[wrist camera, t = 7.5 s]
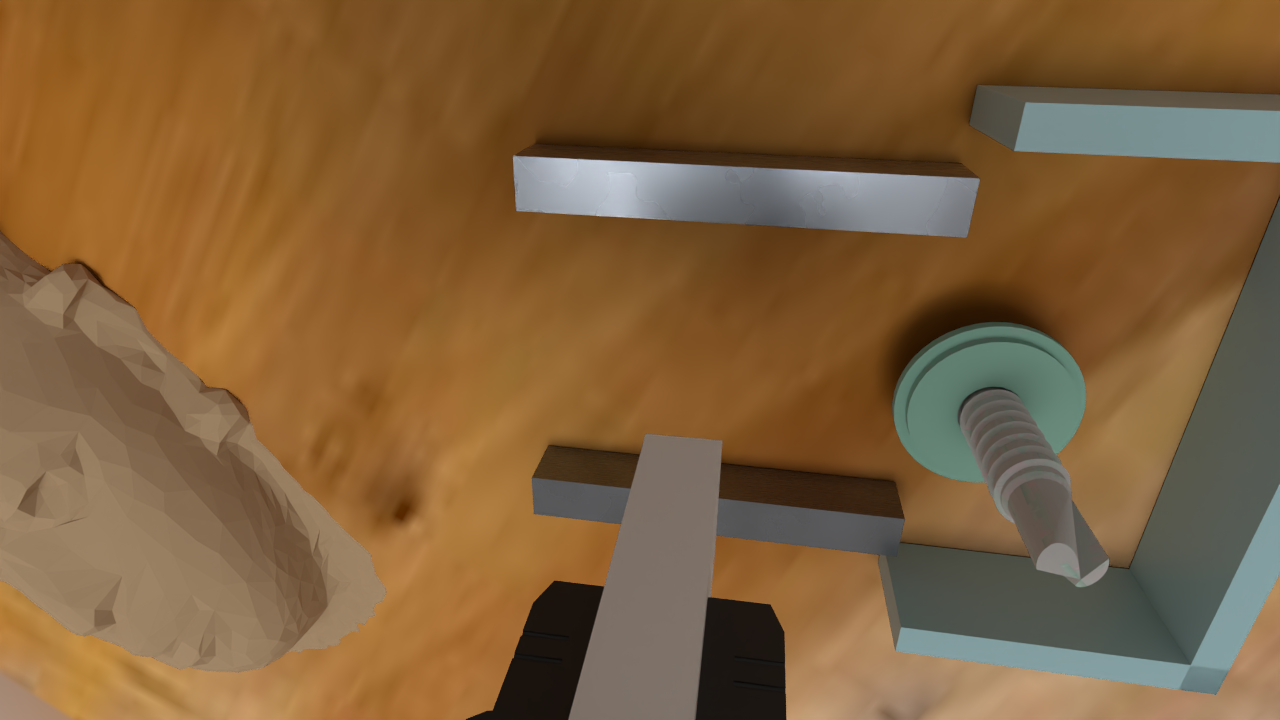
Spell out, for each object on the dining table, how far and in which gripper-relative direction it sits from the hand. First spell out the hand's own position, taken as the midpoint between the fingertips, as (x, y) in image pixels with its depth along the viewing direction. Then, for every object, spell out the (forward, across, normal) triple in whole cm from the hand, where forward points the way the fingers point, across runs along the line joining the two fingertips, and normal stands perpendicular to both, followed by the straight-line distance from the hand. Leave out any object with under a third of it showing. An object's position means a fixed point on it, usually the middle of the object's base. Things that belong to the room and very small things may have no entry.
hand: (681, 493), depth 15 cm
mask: (+10, -25, -7) cm, 28 cm away
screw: (+9, +8, -2) cm, 12 cm away
